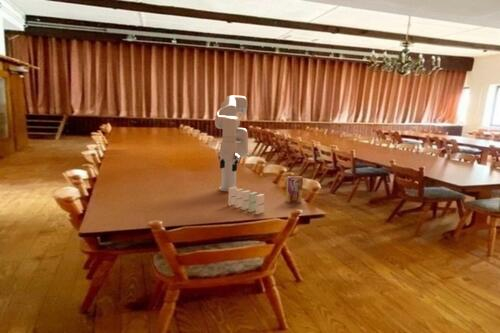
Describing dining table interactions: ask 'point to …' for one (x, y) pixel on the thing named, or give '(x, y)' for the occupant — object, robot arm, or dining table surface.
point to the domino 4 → (260, 203)
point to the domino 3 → (245, 200)
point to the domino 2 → (238, 197)
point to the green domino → (252, 202)
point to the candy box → (294, 189)
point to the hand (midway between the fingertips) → (228, 169)
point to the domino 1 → (231, 196)
